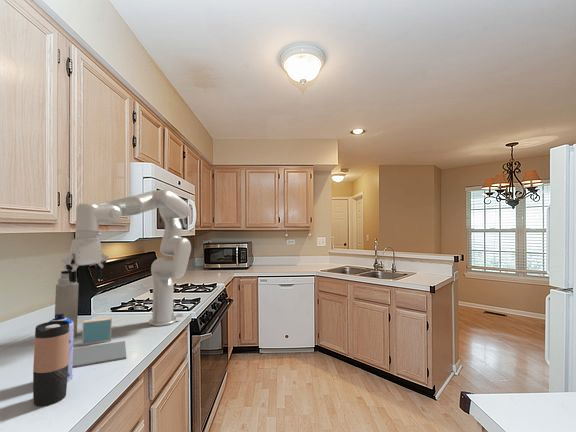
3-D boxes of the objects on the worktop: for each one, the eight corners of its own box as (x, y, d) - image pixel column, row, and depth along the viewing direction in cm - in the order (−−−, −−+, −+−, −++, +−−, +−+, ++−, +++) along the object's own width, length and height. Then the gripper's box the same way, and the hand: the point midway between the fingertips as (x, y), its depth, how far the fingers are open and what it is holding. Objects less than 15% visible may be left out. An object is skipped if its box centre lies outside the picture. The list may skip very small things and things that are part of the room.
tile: (111, 338, 132) (111, 317, 132) (110, 341, 129) (111, 319, 129) (82, 342, 127) (83, 320, 127) (81, 345, 124) (82, 322, 125)
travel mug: (62, 388, 91) (64, 318, 91) (71, 398, 86) (73, 324, 87) (28, 400, 85) (31, 324, 86) (36, 410, 80) (39, 330, 81)
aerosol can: (33, 386, 92) (36, 317, 93) (55, 373, 100) (57, 310, 101) (59, 387, 92) (62, 317, 92) (78, 374, 100) (80, 310, 100)
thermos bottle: (50, 337, 132) (52, 271, 134) (71, 332, 139) (73, 269, 140) (59, 341, 128) (61, 272, 129) (80, 335, 135) (82, 270, 136)
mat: (124, 342, 128) (125, 340, 128) (126, 358, 112) (126, 356, 112) (58, 352, 117) (58, 350, 117) (49, 371, 101) (49, 369, 101)
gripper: (101, 234, 131) (100, 276, 131) (57, 235, 115) (55, 282, 115) (114, 235, 128) (113, 277, 127) (69, 236, 112) (68, 284, 112)
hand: (85, 279), depth 121 cm, fingers open, 9 cm apart
